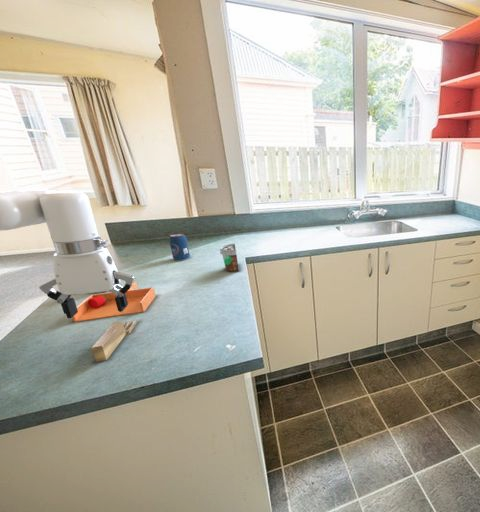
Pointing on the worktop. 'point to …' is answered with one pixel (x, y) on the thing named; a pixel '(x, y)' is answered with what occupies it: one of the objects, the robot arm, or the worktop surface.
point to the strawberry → (97, 301)
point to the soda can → (179, 247)
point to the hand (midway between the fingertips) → (98, 312)
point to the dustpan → (111, 308)
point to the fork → (111, 340)
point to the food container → (230, 257)
